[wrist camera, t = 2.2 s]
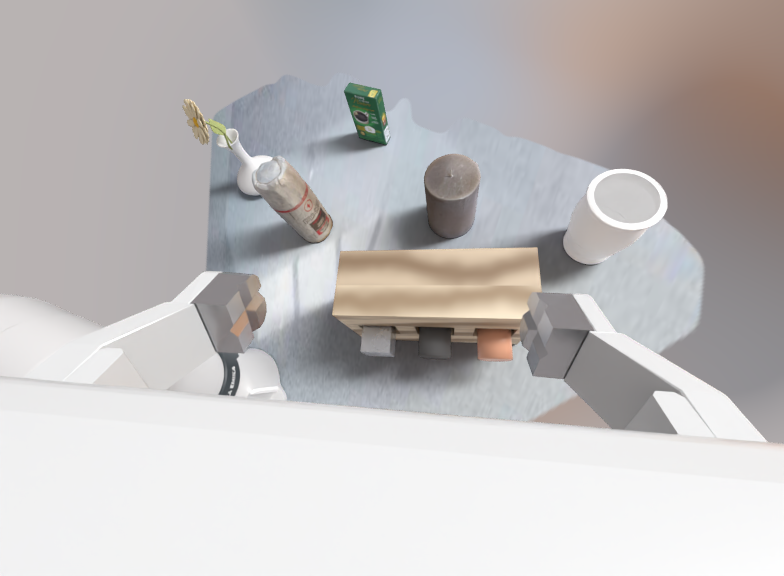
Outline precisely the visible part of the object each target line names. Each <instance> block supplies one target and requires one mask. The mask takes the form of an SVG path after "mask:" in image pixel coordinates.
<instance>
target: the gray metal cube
mask: <svg viewBox="0 0 784 576" xmlns="http://www.w3.org/2000/svg"><path fill="white" fill-rule="evenodd" d="M395 341H396V327H395V326H370V325H363V330H362V340H361V351H360V352H362V353H364V354H366V355H367V356H386V357H395Z"/></svg>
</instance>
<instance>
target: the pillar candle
mask: <svg viewBox="0 0 784 576" xmlns="http://www.w3.org/2000/svg"><path fill="white" fill-rule="evenodd" d="M480 178H481V176H480V170H479V168H478V164H477V163H476V162H474V161H473V160H471V159H470V158H468V157H466V156H464V155H459V154H448V155H445V156H442V157H439V158H437V159H436V160H434V161H433V162H432V163H431V164H430V165H429V166H428V168H427V170H426V172H425V176H424V184H425V193H426V202H427V213H428V222H429V225H430V228H431V229H432V230H433V232H435V233H436V234H437V235H439V236H441V237H444V238H456V237H460V236H462V235H464V234H466V233H467V232H468V231H469V230H470V229H471V227H472V225H473V222H474V218H475V212H476V205H477V197H478V190H479V183H480Z"/></svg>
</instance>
